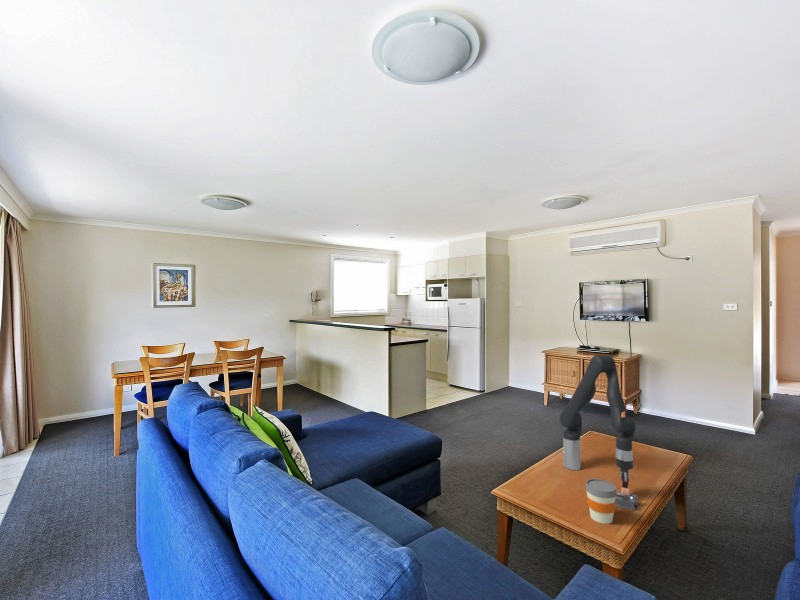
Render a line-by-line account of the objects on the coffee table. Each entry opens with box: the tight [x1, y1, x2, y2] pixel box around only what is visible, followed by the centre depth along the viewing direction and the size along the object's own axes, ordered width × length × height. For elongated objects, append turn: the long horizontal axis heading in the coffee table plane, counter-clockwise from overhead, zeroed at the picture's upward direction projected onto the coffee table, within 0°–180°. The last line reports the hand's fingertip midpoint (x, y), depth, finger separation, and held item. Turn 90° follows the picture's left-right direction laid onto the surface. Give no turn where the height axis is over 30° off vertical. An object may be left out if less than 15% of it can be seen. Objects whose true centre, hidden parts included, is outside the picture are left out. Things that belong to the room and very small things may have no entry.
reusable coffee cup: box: [585, 478, 618, 525], centre depth 172 cm, size 13×13×15 cm
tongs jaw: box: [615, 497, 635, 511], centre depth 182 cm, size 15×3×4 cm, turn 63°
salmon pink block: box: [620, 487, 630, 495], centre depth 187 cm, size 3×3×5 cm
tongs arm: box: [616, 492, 639, 508], centre depth 185 cm, size 17×4×5 cm, turn 58°
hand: (624, 491), depth 190 cm, fingers closed
